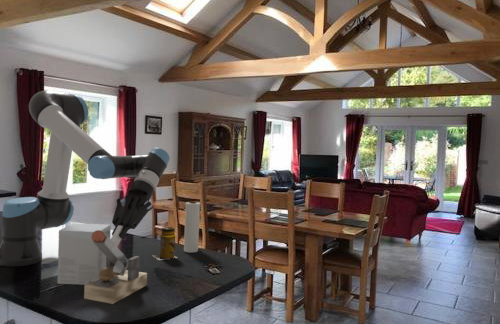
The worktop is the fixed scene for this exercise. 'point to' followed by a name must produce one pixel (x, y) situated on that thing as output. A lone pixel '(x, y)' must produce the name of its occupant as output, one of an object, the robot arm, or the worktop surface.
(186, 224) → the paper towel roll
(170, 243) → the condiment
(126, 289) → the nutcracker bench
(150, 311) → the worktop surface
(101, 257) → the supplement box
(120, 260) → the lever
